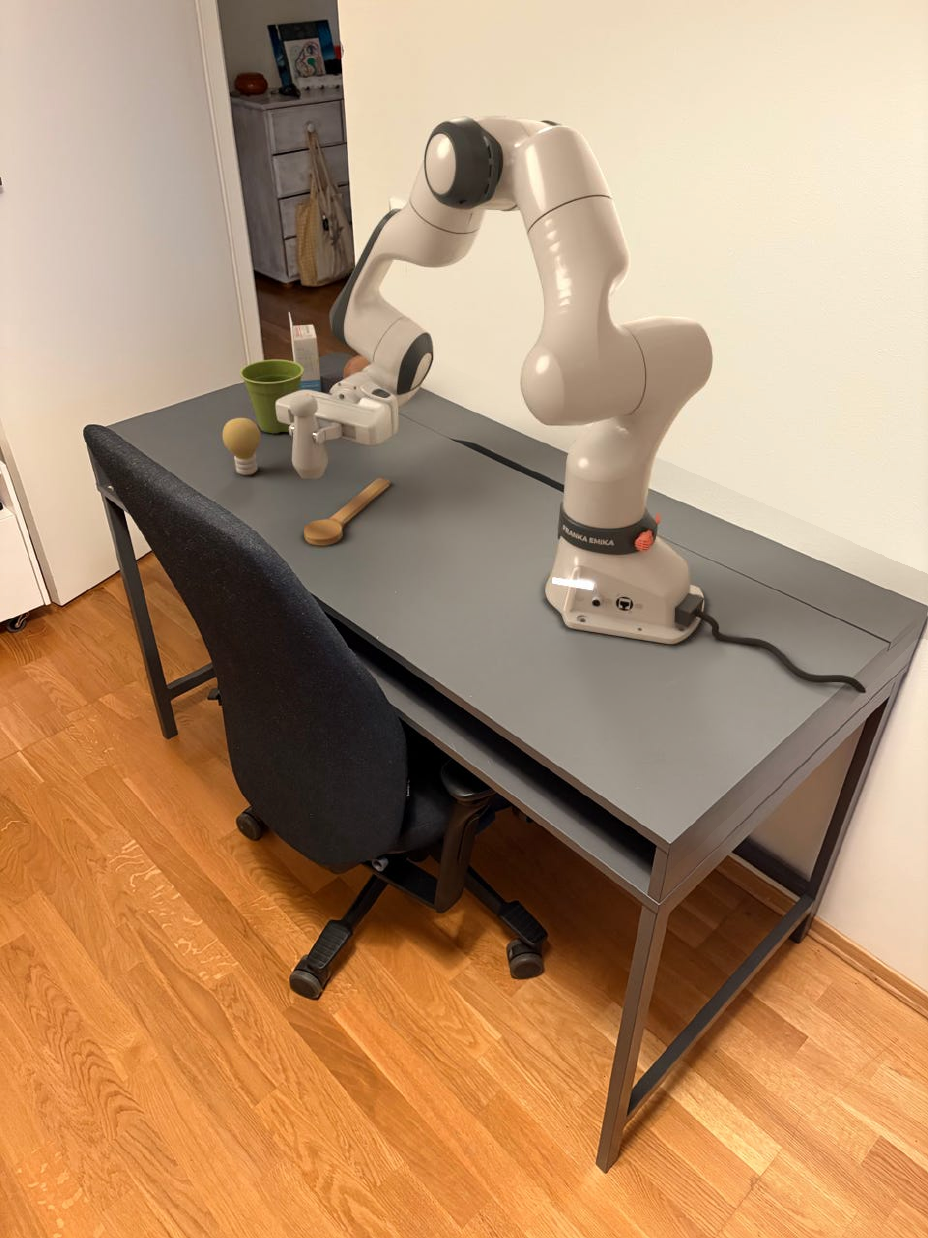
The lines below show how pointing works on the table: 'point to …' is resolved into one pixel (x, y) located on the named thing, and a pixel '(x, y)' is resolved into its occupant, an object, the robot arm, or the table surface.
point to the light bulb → (242, 443)
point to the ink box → (306, 355)
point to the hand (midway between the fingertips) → (303, 435)
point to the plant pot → (271, 389)
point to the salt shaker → (306, 439)
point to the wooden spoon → (342, 516)
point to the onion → (355, 365)
